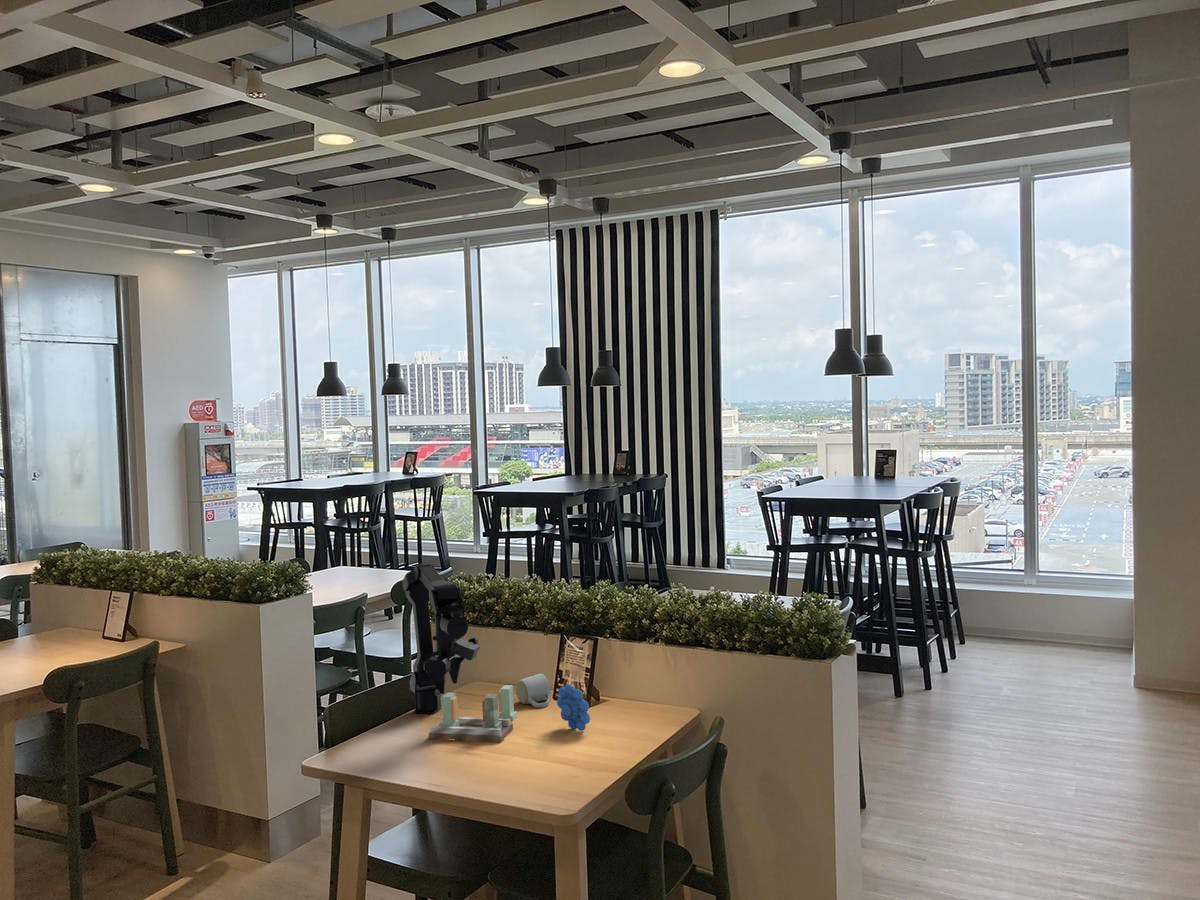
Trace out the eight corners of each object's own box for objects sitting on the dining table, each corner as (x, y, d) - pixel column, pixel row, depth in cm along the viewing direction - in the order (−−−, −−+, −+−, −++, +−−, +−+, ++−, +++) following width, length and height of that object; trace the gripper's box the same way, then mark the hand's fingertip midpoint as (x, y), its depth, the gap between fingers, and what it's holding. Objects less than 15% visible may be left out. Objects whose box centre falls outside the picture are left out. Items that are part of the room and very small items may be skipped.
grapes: (547, 729, 259) (545, 685, 258) (565, 722, 264) (563, 679, 263) (578, 738, 251) (576, 692, 250) (596, 731, 256) (594, 686, 255)
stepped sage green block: (440, 730, 257) (438, 696, 257) (445, 725, 261) (444, 692, 261) (454, 730, 256) (452, 697, 256) (459, 725, 260) (458, 692, 260)
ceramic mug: (514, 701, 284) (513, 676, 284) (538, 695, 289) (537, 670, 289) (532, 711, 276) (531, 684, 275) (556, 705, 280) (556, 679, 280)
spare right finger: (498, 721, 267) (497, 689, 267) (503, 716, 271) (502, 684, 271) (512, 721, 266) (511, 689, 266) (517, 717, 270) (515, 685, 270)
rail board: (428, 739, 255) (426, 699, 254) (443, 726, 264) (441, 688, 264) (501, 742, 250) (499, 702, 250) (513, 729, 260) (511, 690, 259)
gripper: (461, 640, 248) (464, 700, 248) (486, 623, 266) (488, 679, 267) (421, 639, 250) (424, 698, 251) (448, 622, 268) (450, 678, 269)
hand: (448, 688), depth 259 cm, fingers open, 9 cm apart
